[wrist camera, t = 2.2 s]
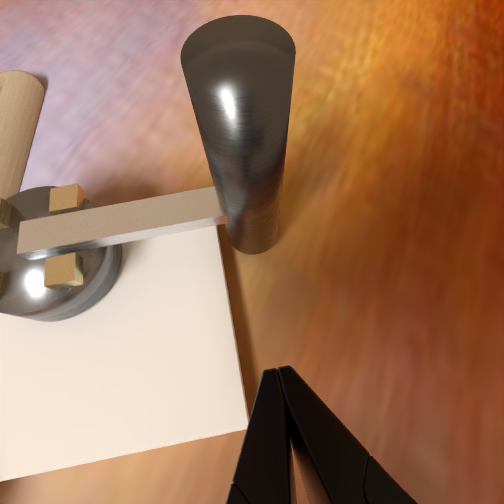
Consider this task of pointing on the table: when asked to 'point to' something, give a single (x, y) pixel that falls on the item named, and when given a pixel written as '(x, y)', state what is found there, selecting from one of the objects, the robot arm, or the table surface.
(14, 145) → the wooden puzzle
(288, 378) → the robot arm
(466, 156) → the table surface
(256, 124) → the dark cylinder with bar
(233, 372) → the cap plate
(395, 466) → the table surface
